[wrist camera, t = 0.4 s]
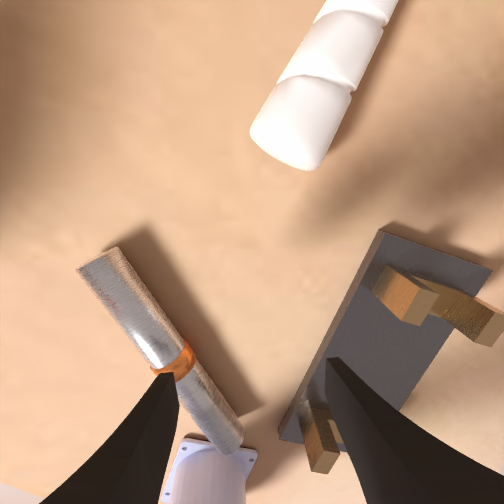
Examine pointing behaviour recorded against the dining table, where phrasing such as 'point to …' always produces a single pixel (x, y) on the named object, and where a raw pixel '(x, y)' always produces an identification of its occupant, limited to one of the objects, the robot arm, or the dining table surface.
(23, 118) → the dining table surface
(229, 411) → the tube
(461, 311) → the grey tube holder
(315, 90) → the unicorn horn
